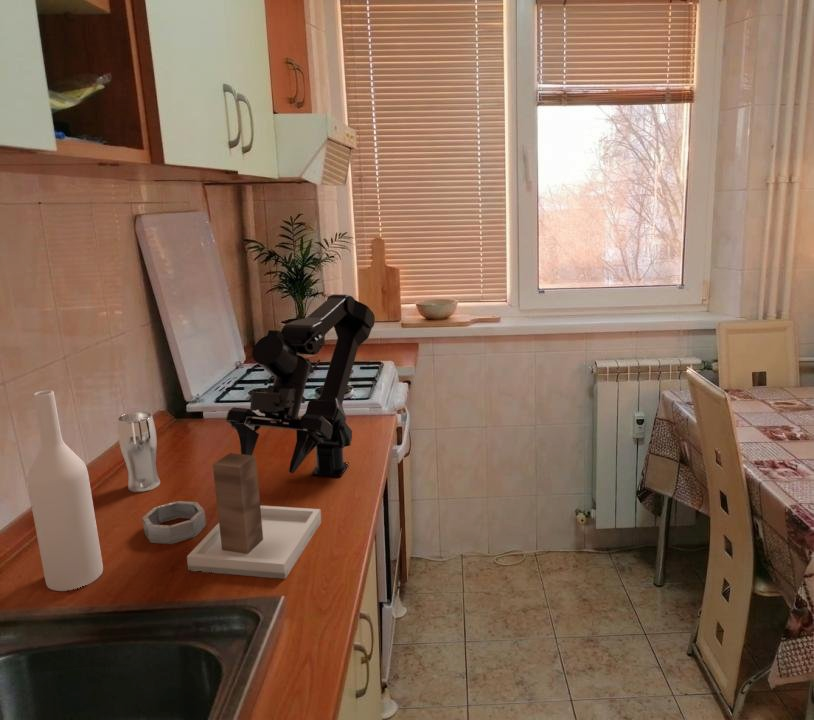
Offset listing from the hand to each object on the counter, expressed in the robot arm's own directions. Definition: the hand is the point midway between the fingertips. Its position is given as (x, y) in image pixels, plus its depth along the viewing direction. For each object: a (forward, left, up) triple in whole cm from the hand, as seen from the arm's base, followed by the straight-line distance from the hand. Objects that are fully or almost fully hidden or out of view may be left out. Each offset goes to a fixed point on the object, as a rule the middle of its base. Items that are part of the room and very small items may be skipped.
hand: (267, 470), depth 114 cm
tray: (+7, +1, -10) cm, 13 cm away
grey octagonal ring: (+4, -16, -10) cm, 20 cm away
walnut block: (+9, -1, -9) cm, 13 cm away
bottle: (+20, -24, -11) cm, 33 cm away
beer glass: (-12, -32, -11) cm, 36 cm away
